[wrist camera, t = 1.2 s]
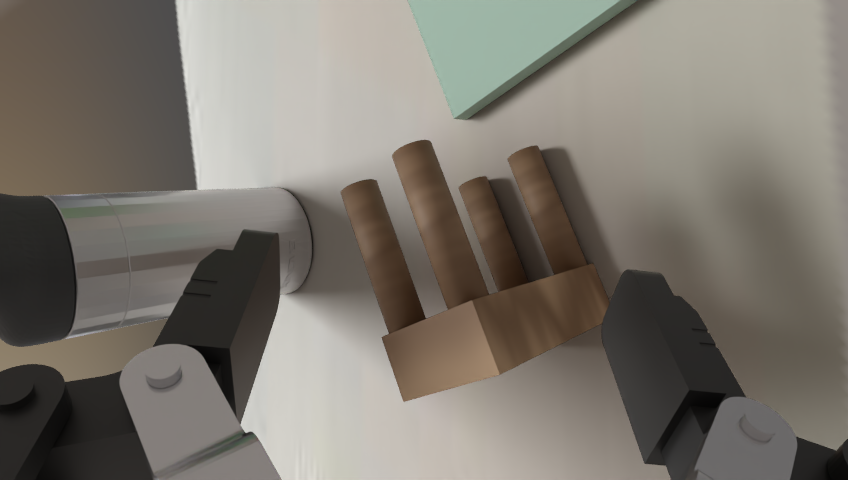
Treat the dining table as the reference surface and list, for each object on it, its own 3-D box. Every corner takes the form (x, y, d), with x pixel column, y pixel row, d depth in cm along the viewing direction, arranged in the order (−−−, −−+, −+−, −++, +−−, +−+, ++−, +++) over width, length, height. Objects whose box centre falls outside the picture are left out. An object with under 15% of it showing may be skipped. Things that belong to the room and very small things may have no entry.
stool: (615, 316, 30) (499, 374, 21) (530, 343, 33) (403, 401, 25) (544, 146, 31) (411, 139, 23) (470, 188, 35) (333, 196, 27)
